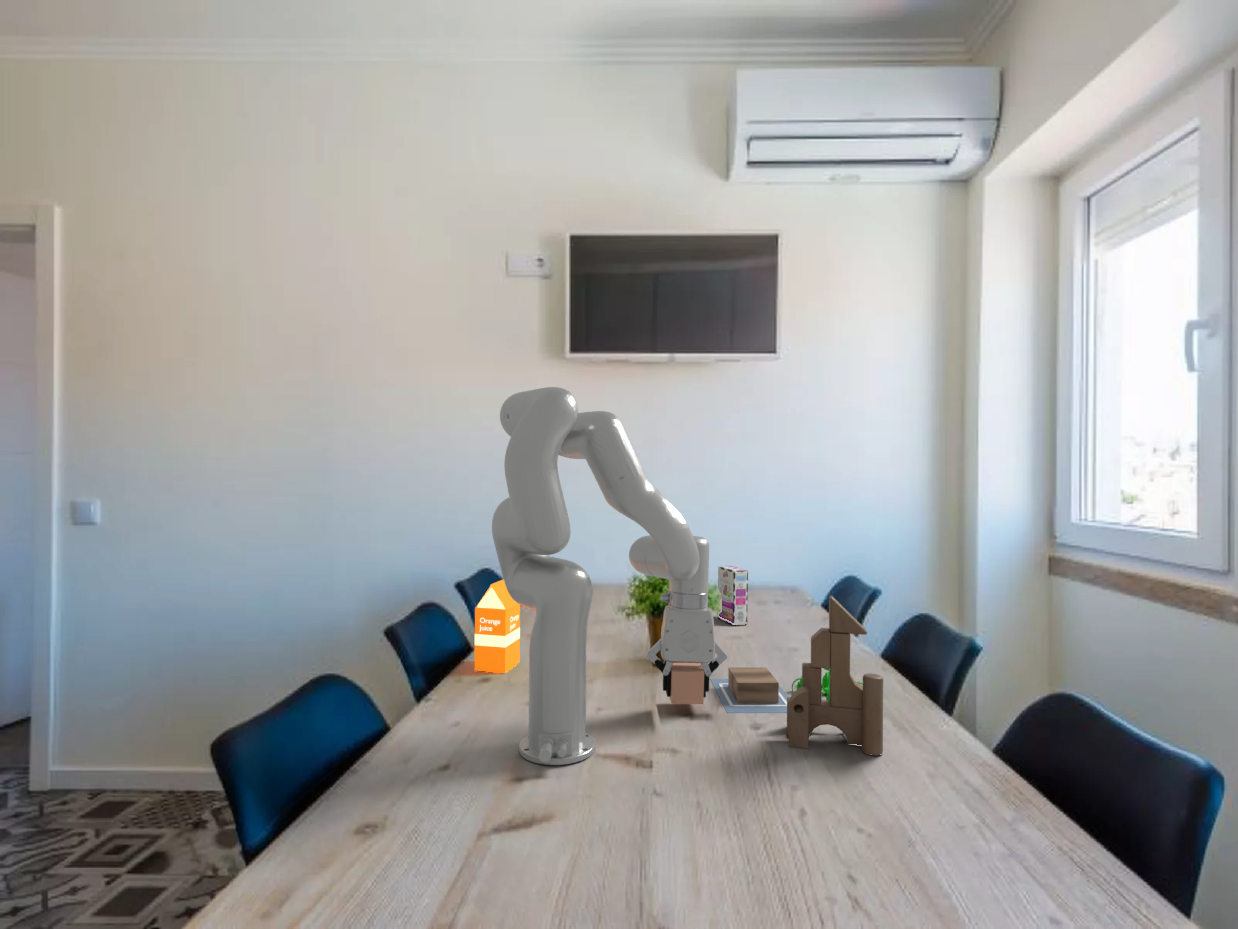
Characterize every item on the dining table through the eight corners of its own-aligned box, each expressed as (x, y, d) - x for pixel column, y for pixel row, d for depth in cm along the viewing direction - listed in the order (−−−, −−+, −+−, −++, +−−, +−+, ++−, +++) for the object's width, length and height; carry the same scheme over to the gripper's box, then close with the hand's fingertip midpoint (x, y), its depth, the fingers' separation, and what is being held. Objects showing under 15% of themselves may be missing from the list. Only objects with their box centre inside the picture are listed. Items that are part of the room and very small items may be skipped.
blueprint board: (801, 717, 127) (801, 712, 127) (727, 718, 127) (727, 712, 127) (774, 683, 147) (774, 678, 147) (710, 683, 147) (710, 678, 147)
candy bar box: (748, 625, 201) (749, 570, 201) (733, 626, 199) (733, 571, 199) (731, 617, 212) (731, 565, 212) (716, 618, 210) (717, 565, 210)
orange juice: (473, 671, 155) (474, 583, 155) (490, 660, 163) (490, 577, 163) (505, 674, 153) (506, 585, 153) (520, 663, 161) (521, 579, 161)
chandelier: (873, 717, 129) (873, 680, 129) (792, 710, 132) (792, 675, 132) (863, 691, 143) (863, 659, 143) (790, 686, 147) (790, 654, 147)
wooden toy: (786, 747, 114) (787, 599, 114) (787, 732, 121) (788, 592, 121) (884, 758, 110) (885, 604, 110) (879, 741, 117) (880, 597, 117)
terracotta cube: (703, 704, 127) (704, 672, 127) (671, 703, 126) (672, 671, 127) (698, 694, 133) (699, 663, 133) (668, 693, 132) (669, 662, 133)
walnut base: (778, 703, 132) (778, 682, 132) (737, 703, 132) (738, 682, 132) (766, 686, 142) (766, 667, 142) (728, 686, 142) (728, 667, 142)
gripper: (644, 603, 126) (641, 700, 126) (736, 605, 126) (734, 702, 126) (642, 596, 133) (639, 687, 133) (729, 598, 134) (726, 689, 133)
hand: (685, 694), depth 130 cm, fingers closed on terracotta cube, 6 cm apart
